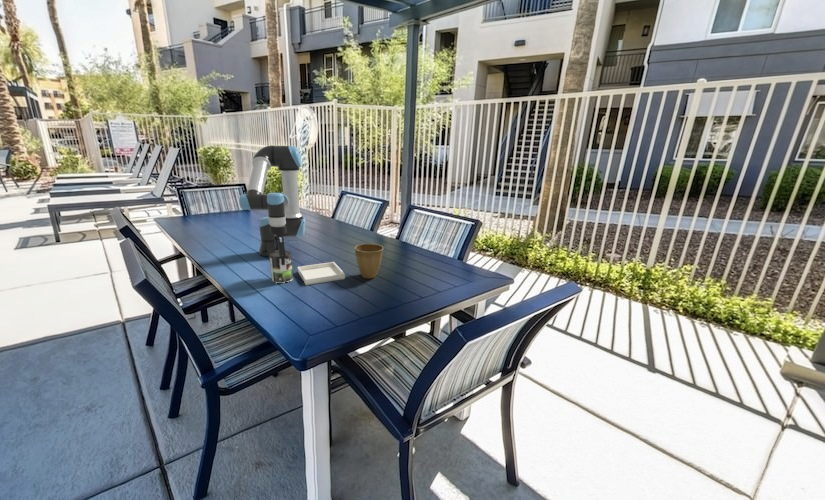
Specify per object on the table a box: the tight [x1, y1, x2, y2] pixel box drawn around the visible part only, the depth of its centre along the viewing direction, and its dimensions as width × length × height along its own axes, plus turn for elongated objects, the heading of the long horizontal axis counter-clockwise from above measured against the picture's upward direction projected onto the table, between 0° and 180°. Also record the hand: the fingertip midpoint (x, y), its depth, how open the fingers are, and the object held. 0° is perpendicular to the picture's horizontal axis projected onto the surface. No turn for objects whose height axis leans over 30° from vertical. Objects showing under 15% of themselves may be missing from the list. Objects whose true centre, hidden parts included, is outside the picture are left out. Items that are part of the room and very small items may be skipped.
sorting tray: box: [297, 261, 346, 286], centre depth 180 cm, size 20×20×3 cm
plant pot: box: [354, 243, 384, 279], centre depth 179 cm, size 15×15×16 cm
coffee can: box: [269, 250, 294, 284], centre depth 171 cm, size 10×10×14 cm
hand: (281, 266), depth 171 cm, fingers open, 13 cm apart
